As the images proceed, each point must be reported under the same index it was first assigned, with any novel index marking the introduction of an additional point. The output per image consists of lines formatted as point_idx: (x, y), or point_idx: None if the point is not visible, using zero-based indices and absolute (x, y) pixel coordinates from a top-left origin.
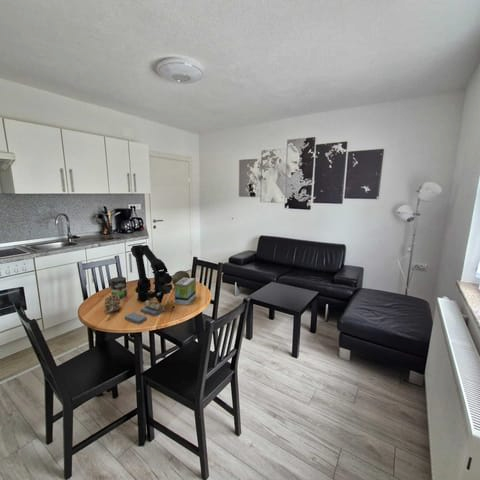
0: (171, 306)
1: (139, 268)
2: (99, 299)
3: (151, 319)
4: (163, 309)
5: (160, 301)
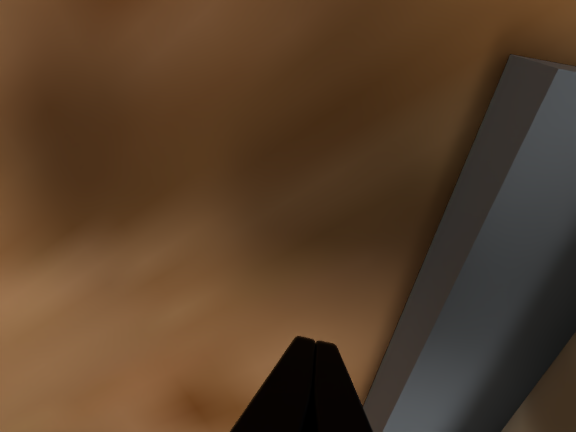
0: (147, 24)
1: None
2: None
3: None
4: (561, 68)
5: (336, 397)
